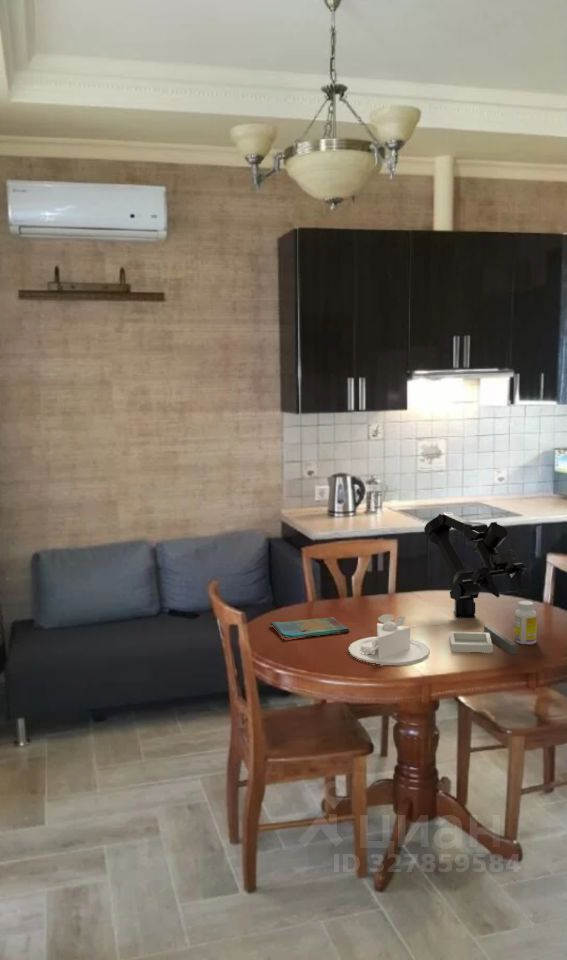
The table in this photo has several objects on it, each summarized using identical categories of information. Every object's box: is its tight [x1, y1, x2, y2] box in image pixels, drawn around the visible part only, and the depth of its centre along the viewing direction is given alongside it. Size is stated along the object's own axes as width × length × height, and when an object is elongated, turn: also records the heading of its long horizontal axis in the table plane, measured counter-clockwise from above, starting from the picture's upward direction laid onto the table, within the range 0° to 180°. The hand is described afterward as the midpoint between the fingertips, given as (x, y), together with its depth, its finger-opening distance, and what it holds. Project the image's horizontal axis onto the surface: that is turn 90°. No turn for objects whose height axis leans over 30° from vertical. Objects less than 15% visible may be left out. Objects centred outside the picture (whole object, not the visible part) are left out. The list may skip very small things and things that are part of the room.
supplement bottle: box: [514, 600, 538, 646], centre depth 252 cm, size 7×7×13 cm
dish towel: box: [270, 616, 351, 638], centre depth 271 cm, size 17×23×2 cm
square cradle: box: [449, 631, 494, 654], centre depth 250 cm, size 12×12×2 cm
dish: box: [348, 613, 430, 667], centre depth 247 cm, size 25×25×11 cm
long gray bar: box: [483, 624, 518, 655], centre depth 252 cm, size 20×2×3 cm, turn 9°
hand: (510, 595), depth 259 cm, fingers open, 9 cm apart
